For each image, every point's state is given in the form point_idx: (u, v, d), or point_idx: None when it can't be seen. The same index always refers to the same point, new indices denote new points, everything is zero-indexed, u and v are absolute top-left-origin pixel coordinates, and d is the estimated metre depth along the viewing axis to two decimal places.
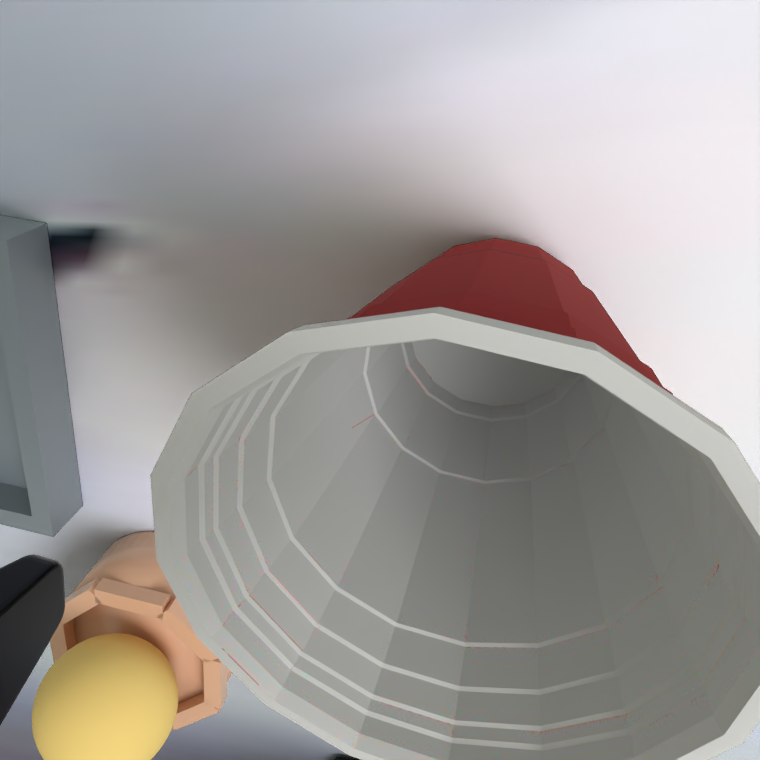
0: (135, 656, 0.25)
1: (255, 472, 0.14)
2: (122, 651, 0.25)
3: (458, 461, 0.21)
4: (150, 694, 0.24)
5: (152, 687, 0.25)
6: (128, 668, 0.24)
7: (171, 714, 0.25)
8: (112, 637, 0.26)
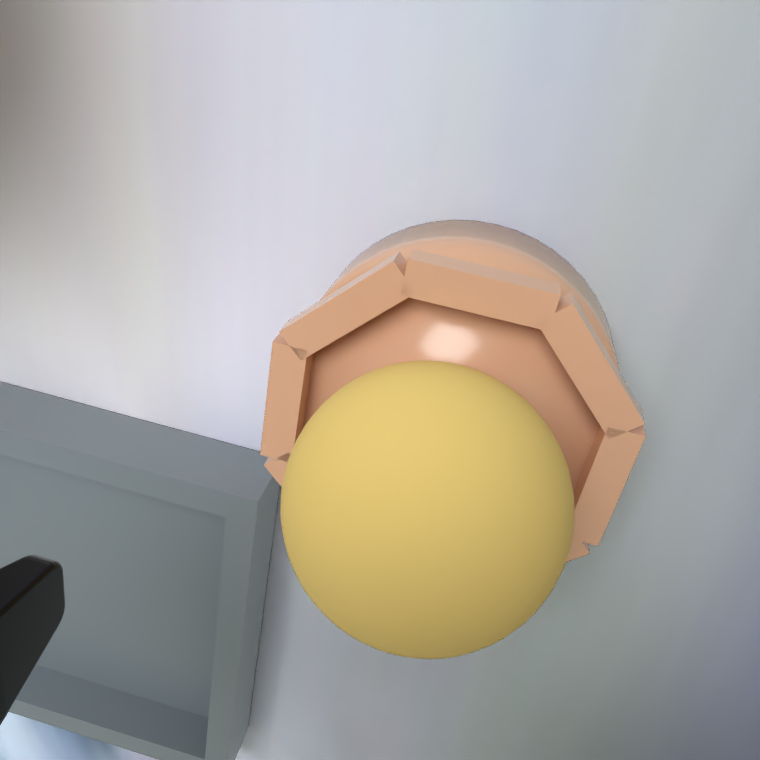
0: None
1: None
2: None
3: None
4: (350, 394, 0.11)
5: (350, 388, 0.11)
6: (307, 423, 0.12)
7: (439, 374, 0.11)
8: None
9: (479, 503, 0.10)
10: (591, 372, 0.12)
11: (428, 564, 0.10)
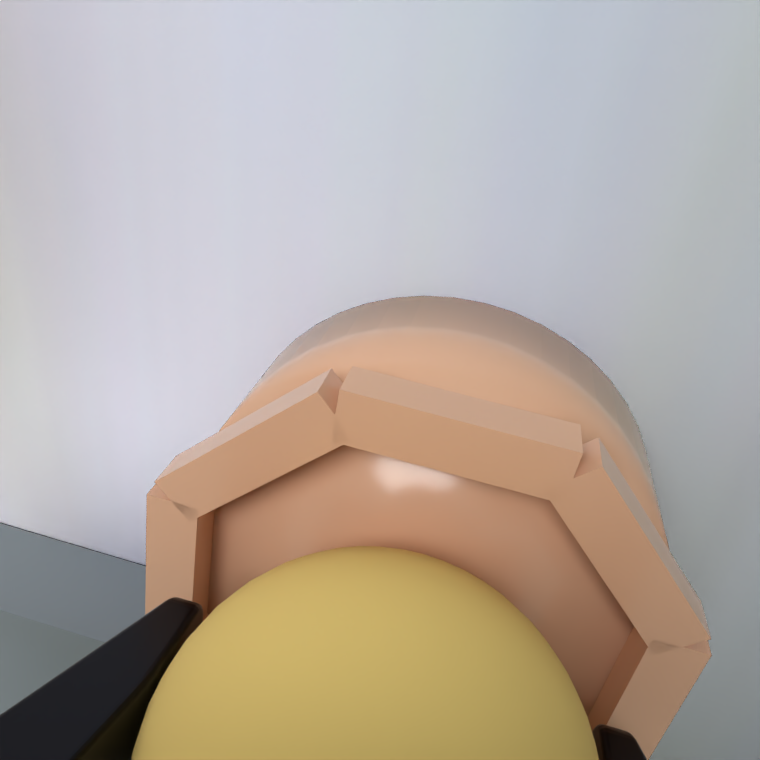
0: None
1: None
2: None
3: None
4: (232, 635, 0.07)
5: (235, 619, 0.07)
6: (175, 657, 0.07)
7: (380, 607, 0.07)
8: None
9: None
10: (629, 564, 0.08)
11: None
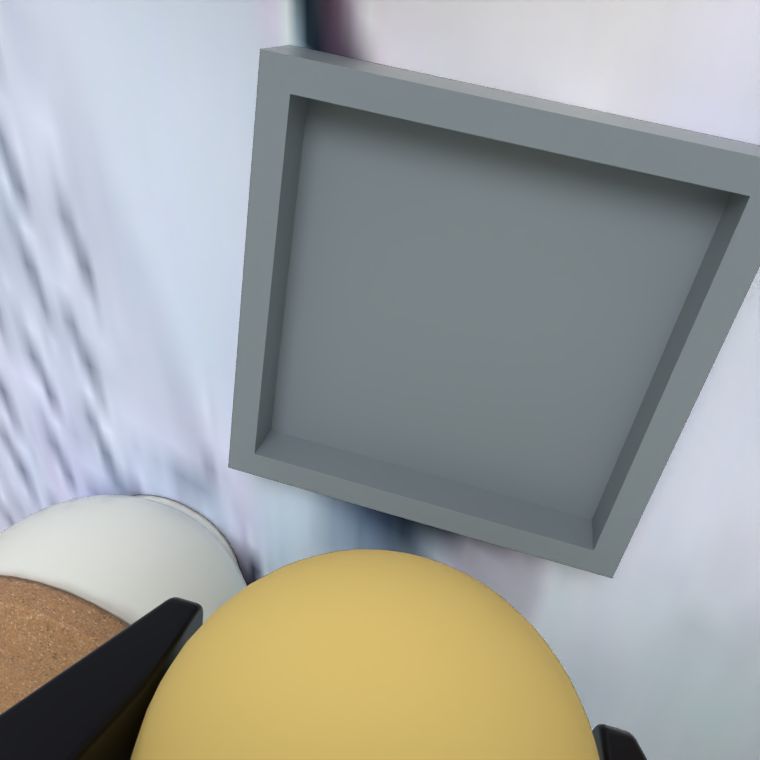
0: None
1: None
2: None
3: None
4: (231, 640, 0.07)
5: (234, 622, 0.07)
6: (174, 661, 0.07)
7: (380, 612, 0.07)
8: None
9: None
10: None
11: None
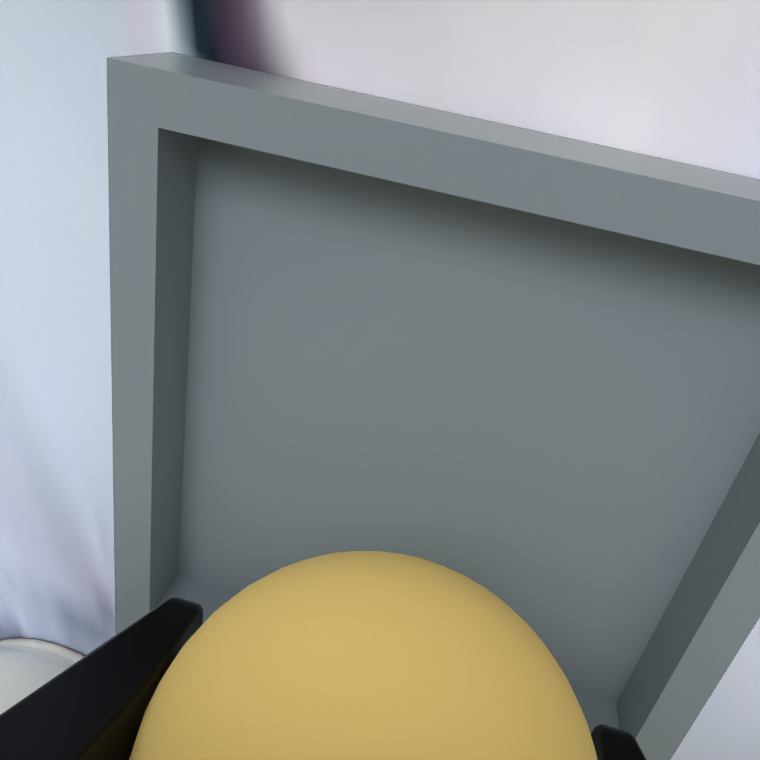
0: None
1: None
2: None
3: None
4: (229, 642, 0.07)
5: (232, 624, 0.07)
6: (172, 662, 0.07)
7: (378, 613, 0.07)
8: None
9: None
10: None
11: None
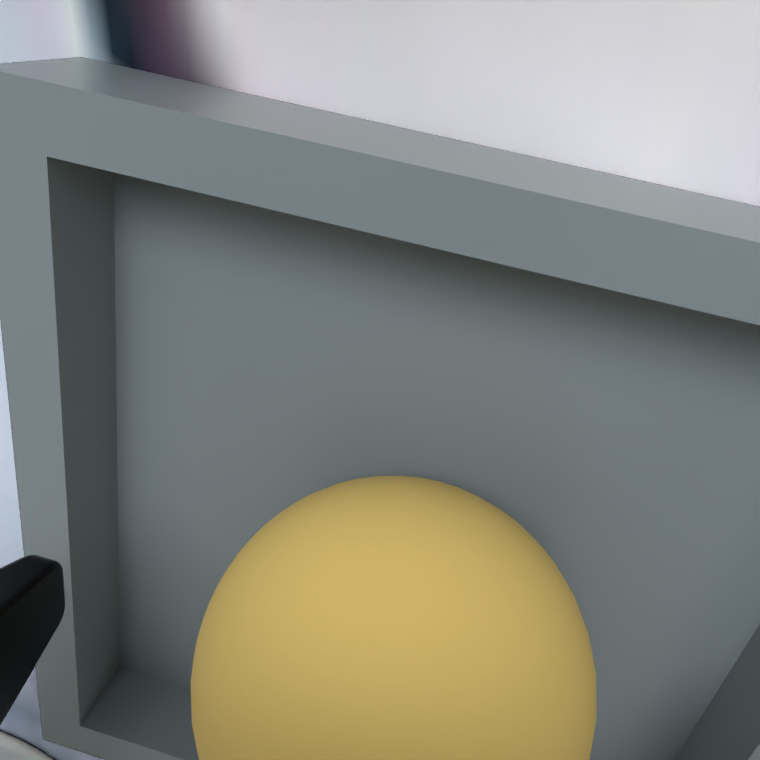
0: None
1: None
2: None
3: None
4: (283, 539, 0.08)
5: (285, 527, 0.08)
6: (230, 565, 0.09)
7: (408, 513, 0.08)
8: None
9: (462, 734, 0.07)
10: None
11: None
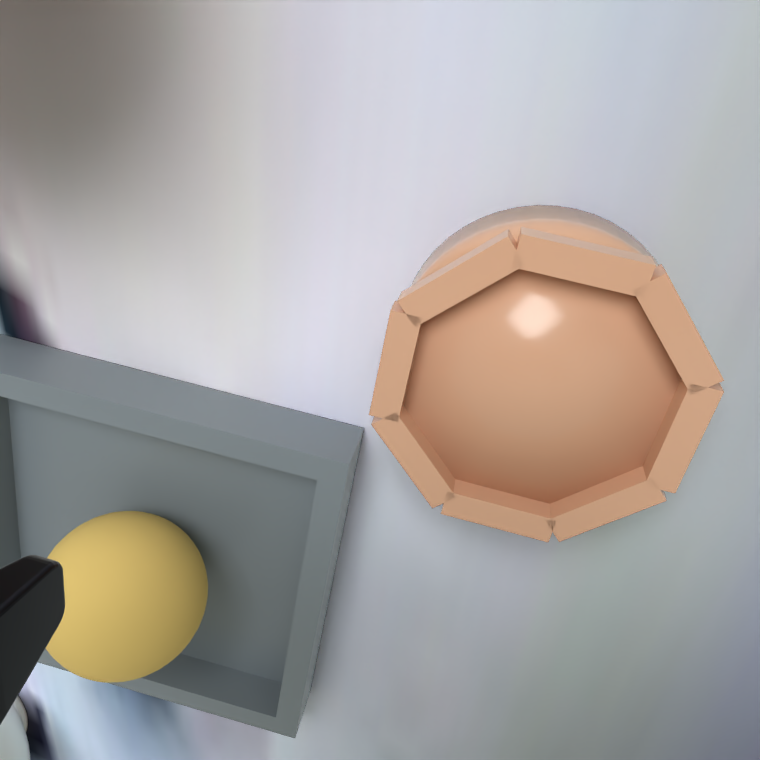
0: None
1: None
2: None
3: None
4: (68, 538, 0.20)
5: (71, 533, 0.21)
6: None
7: (116, 527, 0.20)
8: None
9: (118, 603, 0.19)
10: (679, 334, 0.14)
11: (90, 636, 0.19)
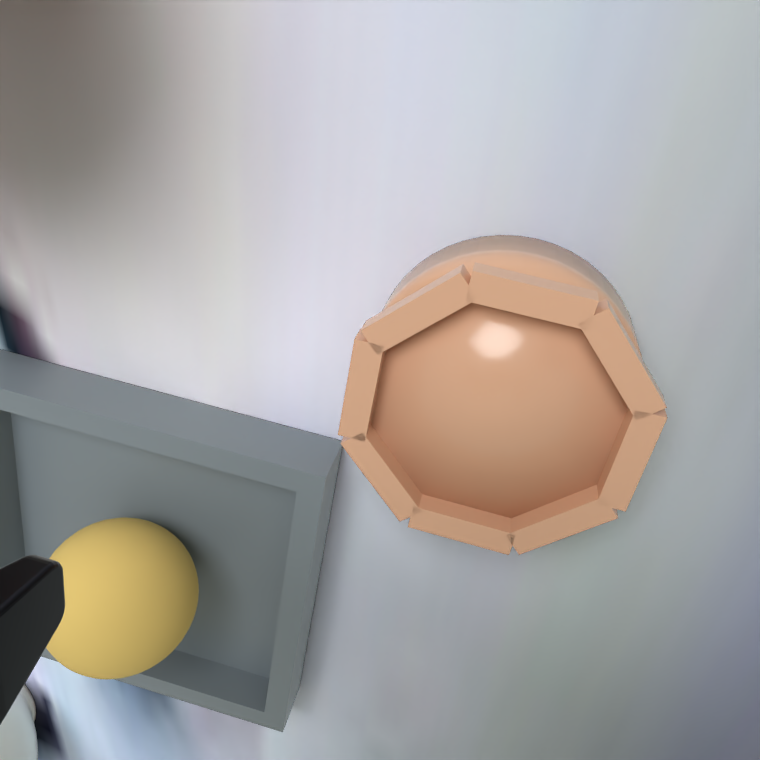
0: None
1: None
2: None
3: None
4: (66, 544, 0.22)
5: (69, 540, 0.22)
6: None
7: (110, 534, 0.22)
8: None
9: (111, 606, 0.20)
10: (622, 364, 0.15)
11: (86, 637, 0.20)
